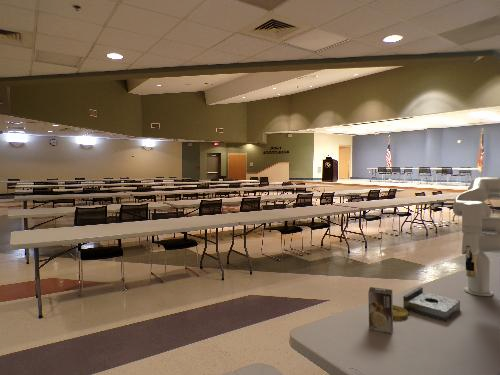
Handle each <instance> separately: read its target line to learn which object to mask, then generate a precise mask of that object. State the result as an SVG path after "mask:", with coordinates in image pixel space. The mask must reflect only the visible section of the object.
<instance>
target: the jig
mask: <svg viewBox="0 0 500 375" xmlns="http://www.w3.org/2000/svg"><path fill="white" fill-rule="evenodd" d="M423 289H424V288H423V287H422V286H418V287H417V288H415V289H413V290H411V291H409V292H408V293H406V294H405V295H403V303H402V304H403V305H402V306H403V307H402V308H404V309H406V310H407V311H408V313H409V312H410V313H413V314H417V315H420V316H423V317H426V318H430V319H434V320H437V321H439V322H444V323H447V322H448V321H450V319H451V318H452V317H454V316H455V315H456V314H458V313H459V311H461V300H459V299H455V298H450V297H446V296H443V295H438V294H434V293H430V292H427V291H424V290H423Z"/></svg>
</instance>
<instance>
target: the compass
mask: <svg viewBox="0 0 500 375" xmlns="http://www.w3.org/2000/svg"><path fill="white" fill-rule="evenodd" d="M408 317H409V311H407V310H406V309H404V308H403V307H402V306H399V305H394V304H393V321H402V320H403V319H406V318H408Z"/></svg>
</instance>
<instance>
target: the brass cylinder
mask: <svg viewBox="0 0 500 375" xmlns="http://www.w3.org/2000/svg"><path fill="white" fill-rule="evenodd" d="M470 255H472V254H470ZM470 257H471V256H470ZM471 258H472V257H471ZM473 262H474V271H469V270H466V269H465V270H466V272H465V273H466V274H465V276H466V277H467V278H468V277H477V255H474V259H473Z"/></svg>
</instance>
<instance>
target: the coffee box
mask: <svg viewBox="0 0 500 375" xmlns="http://www.w3.org/2000/svg"><path fill="white" fill-rule="evenodd" d="M367 293H368V297H367V298H368V330H372V331H377V332H382V333H388V334H393V331H394V320H393V305H394V303H393V290H392V289H387V288H380V287H373V286H370V287H369V289H368V292H367Z"/></svg>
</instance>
